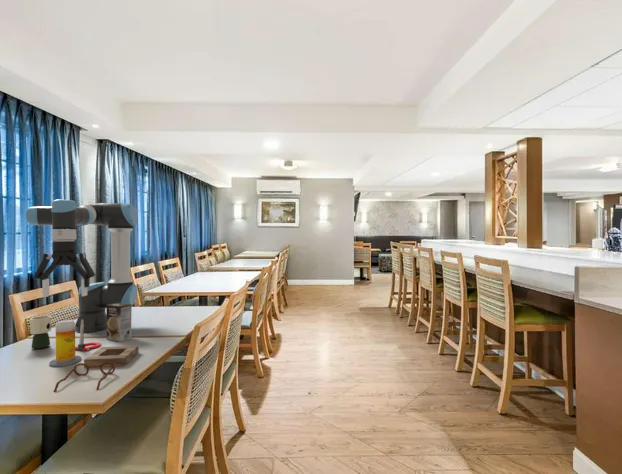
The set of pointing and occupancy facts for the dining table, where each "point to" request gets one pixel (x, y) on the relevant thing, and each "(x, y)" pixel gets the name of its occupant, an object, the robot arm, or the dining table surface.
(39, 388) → the dining table surface
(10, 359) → the dining table surface
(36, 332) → the character mug
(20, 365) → the dining table surface
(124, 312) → the coffee box
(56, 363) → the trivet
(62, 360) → the beer can
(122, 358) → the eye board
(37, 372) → the dining table surface
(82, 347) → the tow hook
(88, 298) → the robot arm
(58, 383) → the glasses
